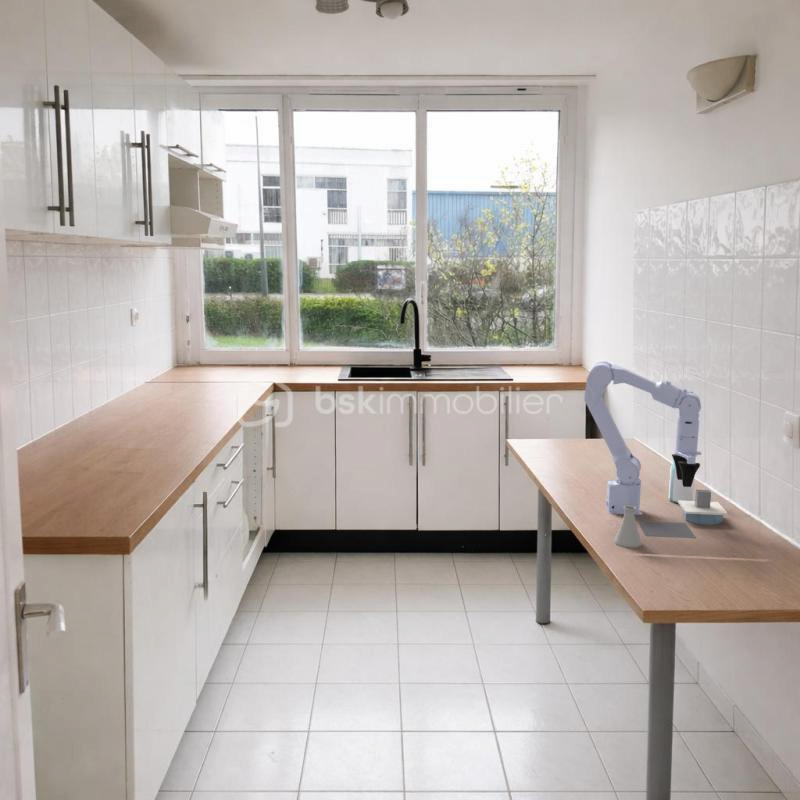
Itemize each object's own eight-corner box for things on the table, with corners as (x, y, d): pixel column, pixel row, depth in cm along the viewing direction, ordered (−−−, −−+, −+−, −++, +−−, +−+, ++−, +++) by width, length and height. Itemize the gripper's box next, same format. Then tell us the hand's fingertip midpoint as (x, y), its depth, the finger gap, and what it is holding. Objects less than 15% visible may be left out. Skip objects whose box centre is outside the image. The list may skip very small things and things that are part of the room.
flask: (640, 551, 224) (643, 512, 223) (611, 547, 227) (613, 509, 225) (643, 542, 231) (645, 505, 229) (614, 539, 233) (617, 502, 232)
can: (683, 497, 274) (685, 459, 272) (697, 503, 268) (700, 464, 265) (663, 498, 272) (666, 460, 270) (677, 505, 265) (680, 465, 263)
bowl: (687, 525, 246) (688, 513, 245) (680, 514, 255) (681, 503, 255) (725, 527, 245) (726, 514, 244) (716, 516, 255) (717, 504, 254)
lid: (686, 513, 245) (687, 495, 244) (678, 502, 255) (679, 485, 255) (727, 515, 244) (728, 497, 243) (717, 504, 254) (718, 486, 254)
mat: (645, 537, 235) (645, 535, 235) (637, 522, 248) (637, 521, 247) (696, 539, 233) (696, 538, 233) (685, 524, 246) (685, 523, 246)
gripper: (708, 441, 242) (704, 490, 244) (696, 431, 256) (693, 477, 259) (681, 441, 243) (678, 489, 245) (671, 430, 257) (668, 476, 259)
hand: (684, 483), depth 252 cm, fingers open, 7 cm apart
